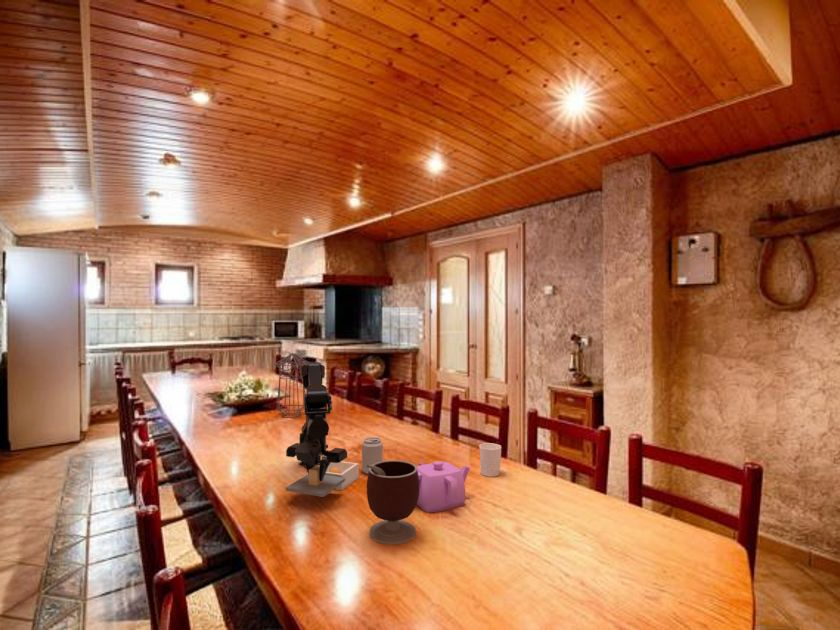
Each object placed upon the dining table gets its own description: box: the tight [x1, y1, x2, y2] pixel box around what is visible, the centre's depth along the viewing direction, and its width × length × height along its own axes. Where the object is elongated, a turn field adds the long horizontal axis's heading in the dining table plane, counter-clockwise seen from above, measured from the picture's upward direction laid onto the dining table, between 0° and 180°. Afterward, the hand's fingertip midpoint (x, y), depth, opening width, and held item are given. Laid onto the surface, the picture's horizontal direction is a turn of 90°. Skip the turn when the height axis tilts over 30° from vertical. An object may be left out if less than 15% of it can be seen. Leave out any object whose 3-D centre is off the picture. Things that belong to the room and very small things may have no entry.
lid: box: [285, 465, 345, 498], centre depth 139 cm, size 13×13×6 cm
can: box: [361, 436, 384, 475], centre depth 164 cm, size 8×8×12 cm
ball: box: [329, 467, 341, 474], centre depth 154 cm, size 4×4×4 cm
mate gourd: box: [366, 459, 419, 546], centre depth 118 cm, size 16×14×20 cm
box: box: [318, 460, 360, 491], centre depth 154 cm, size 12×12×5 cm
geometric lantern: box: [274, 353, 309, 419], centre depth 250 cm, size 16×16×35 cm
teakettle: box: [416, 460, 471, 513], centre depth 138 cm, size 17×17×12 cm
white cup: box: [478, 442, 502, 478], centre depth 163 cm, size 8×8×10 cm
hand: (316, 480), depth 139 cm, fingers closed on lid, 3 cm apart
